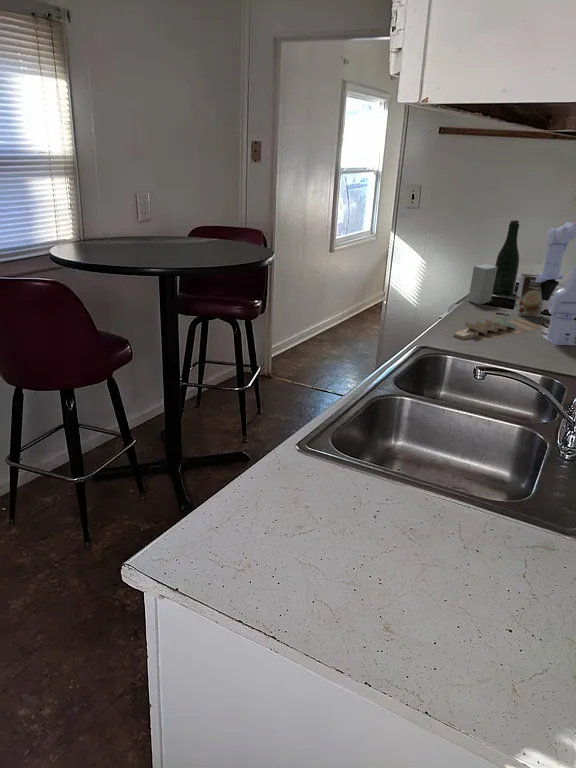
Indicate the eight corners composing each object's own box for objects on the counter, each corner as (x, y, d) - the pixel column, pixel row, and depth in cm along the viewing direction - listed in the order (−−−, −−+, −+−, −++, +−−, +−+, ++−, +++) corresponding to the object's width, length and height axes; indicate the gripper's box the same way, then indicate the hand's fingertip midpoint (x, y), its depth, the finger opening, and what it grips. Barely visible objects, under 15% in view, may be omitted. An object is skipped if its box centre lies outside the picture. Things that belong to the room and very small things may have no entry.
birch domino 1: (478, 335, 207) (462, 340, 203) (469, 332, 210) (453, 337, 206) (478, 331, 207) (463, 336, 203) (469, 328, 210) (454, 333, 206)
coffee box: (516, 316, 238) (524, 276, 232) (512, 312, 244) (520, 273, 238) (540, 318, 238) (548, 278, 232) (535, 314, 244) (543, 275, 238)
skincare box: (478, 299, 264) (484, 263, 258) (492, 303, 259) (498, 266, 253) (466, 301, 259) (472, 264, 254) (480, 305, 254) (486, 267, 248)
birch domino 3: (496, 332, 213) (484, 328, 208) (487, 329, 216) (475, 325, 211) (498, 328, 213) (485, 324, 208) (489, 325, 216) (476, 321, 211)
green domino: (514, 328, 219) (503, 324, 214) (505, 326, 222) (493, 322, 217) (516, 324, 218) (504, 320, 213) (507, 322, 221) (495, 317, 216)
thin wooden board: (483, 341, 203) (483, 340, 203) (455, 332, 213) (455, 331, 212) (547, 328, 223) (547, 327, 223) (519, 320, 233) (519, 319, 232)
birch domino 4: (505, 330, 216) (493, 326, 211) (496, 327, 219) (484, 323, 214) (507, 326, 216) (495, 322, 211) (498, 323, 219) (486, 319, 214)
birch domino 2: (486, 334, 210) (473, 329, 205) (476, 331, 213) (464, 326, 208) (487, 330, 210) (475, 324, 204) (478, 327, 213) (466, 321, 208)
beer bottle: (518, 295, 275) (532, 221, 263) (497, 295, 272) (511, 221, 260) (505, 290, 284) (518, 219, 272) (485, 290, 282) (498, 218, 270)
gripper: (554, 259, 223) (546, 295, 228) (531, 262, 215) (523, 299, 220) (571, 263, 218) (563, 299, 223) (549, 266, 210) (541, 303, 215)
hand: (545, 300), depth 221 cm, fingers closed
